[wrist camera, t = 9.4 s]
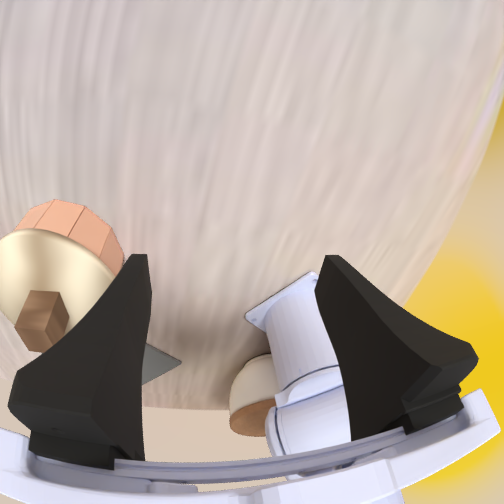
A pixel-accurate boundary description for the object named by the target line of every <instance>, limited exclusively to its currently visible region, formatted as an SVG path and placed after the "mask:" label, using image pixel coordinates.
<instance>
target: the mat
mask: <svg viewBox="0 0 504 504" xmlns="http://www.w3.org/2000/svg"><path fill="white" fill-rule="evenodd" d="M42 354H43V353H42ZM180 364H182V363H181V361H179V360H177V359H175V358H173V357H171V356H169V355H167V354H165V353H164V352H162V351H160V350H158V349H156V348H154V347H152V346H150V345H149V344H147V343H146V345H145V352H144V358H143V367H142V385H143V384H145V383H147V382H149V381H151V380H153V379H155V378H156V377H158V376H160V375H162V374H164V373H166V372H168V371H169V370H171V369H173V368H175V367H177V366H178V365H180Z"/></svg>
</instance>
